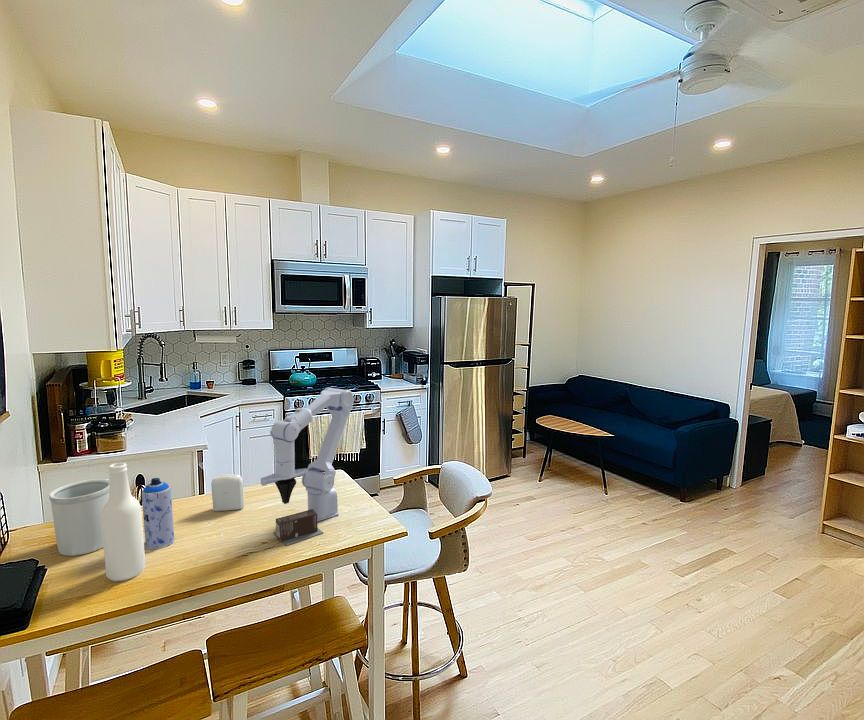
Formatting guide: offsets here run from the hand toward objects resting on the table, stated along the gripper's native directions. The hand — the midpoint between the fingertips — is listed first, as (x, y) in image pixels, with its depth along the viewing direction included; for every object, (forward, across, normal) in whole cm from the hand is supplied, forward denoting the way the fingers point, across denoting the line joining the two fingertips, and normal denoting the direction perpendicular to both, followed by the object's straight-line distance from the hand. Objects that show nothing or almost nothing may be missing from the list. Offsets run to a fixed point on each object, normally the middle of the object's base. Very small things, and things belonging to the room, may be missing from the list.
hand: (285, 502), depth 144 cm
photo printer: (+11, +8, -30) cm, 33 cm away
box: (+7, +4, +2) cm, 9 cm away
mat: (+10, -3, +2) cm, 11 cm away
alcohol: (+12, +41, -8) cm, 43 cm away
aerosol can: (+11, +31, -20) cm, 38 cm away
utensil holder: (+12, +48, -33) cm, 59 cm away
